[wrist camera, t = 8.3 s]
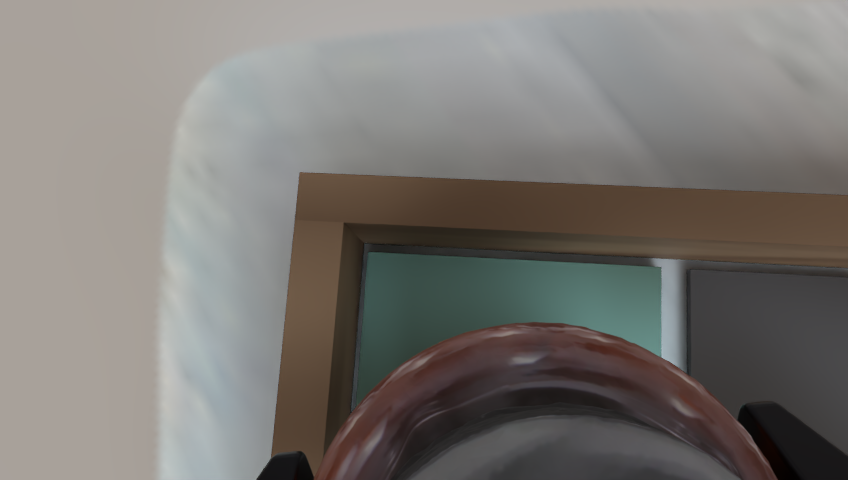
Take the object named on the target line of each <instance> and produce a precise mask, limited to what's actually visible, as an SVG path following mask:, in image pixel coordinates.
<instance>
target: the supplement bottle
mask: <svg viewBox="0 0 848 480" xmlns="http://www.w3.org/2000/svg"><path fill="white" fill-rule="evenodd" d="M314 480H778V479H777V477H776V476H775V474H774V472H773V470H772V468H771V466H770V464H769V461H768V460H767V459H766V458H765V456H764V455H763V454H762V452H761V450H760V449H759V448H758V446H757V445H756V444H755V442H754V441H753V439H752V437H751V435H750V434H749V433H748V432H747V431H746V429H745V428H744V427H743V426H742V425H741V424H740V423H739V422H738V421H737V420H736V419H735V418H734V417H733V416H732V415H731V414H730V413H729V411H728V410H727V409H726V408H725V407H724V406H723V405H722V403H721V402H720V401H719V400H718V399H717V398H716V397H715V396H714V395H713V394H712V393H710V392H709V391H708V390H707V389H706V388H705V387H704V386H703V385H702V384H700V383H699V382H698V381H697V380H696V379H694V378H693V377H691V376H689V375H688V374H686V373H685V372H683V371H682V370H681V369H680V368H678V367H677V366H675V365H674V364H672V363H671V362H669V361H667V360H665V359H663V358H661V357H659V356H658V355H656V354H654V353H652V352H651V351H649V350H647V349H645V348H643V347H641V346H639V345H637V344H635V343H631V342H629V341H627V340H625V339H623V338H621V337H617V336H614V335H610V334H606V333H603V332H599V331H595V330H592V329H589V328H587V327H583V326H575V325H569V324H565V323H545V322H528V323H512V324H504V325H498V326H493V327H488V328H483V329H478V330H474V331H469V332H465V333H462V334H459V335H457V336H454V337H452V338H449V339H446V340H444V341H442V342H440V343H438V344H436V345H433V346H431V347H429V348H427V349H425V350H423V351H422V352H420V353H418V354H417V355H415V356H413V357H412V358H410V359H409V360H407V361H405V362H404V363H403V364H401V365H400V366H399V367H397V368H396V369H395V370H393V371H392V372H391V373H389V374H388V375H387V376H386V377H385V378H384V379H383V380H381V381H380V382H379V383H378V384H377V385H376V386H375V387H374V388H373V389H372V390H371V391H370V392H369V393H368V394H367V395H366V396H365V397H364V398H363V399H362V401H361V402H360V403H359V404H358V405H357V407H356V408H355V409H354V410H353V412H352V413H351V414H350V415H349V417H348V418H347V420H346V421H345V422H344V424H343V425H342V426H341V428H340V429H339V431H338V432H337V434H336V436H335V437H334V439H333V441H332V443H331V444H330V446H329V448H328V449H327V451H326V454H325V456H324V458H323V460H322V462H321V464H320V466H319V469H318V471H317V473H316V475H315V477H314Z"/></svg>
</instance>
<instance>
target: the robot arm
mask: <svg viewBox="0 0 848 480" xmlns="http://www.w3.org/2000/svg"><path fill="white" fill-rule="evenodd" d="M737 421H738V422H739V423H740V424H741V425H742V426H743V427H744V428H745V429H746V431H747V432H748V433H749V434H750V435H751V437H752V439H753V441H754V442H755V444H756V445H757V446H758V448H759V449H760V450H761V452H762V454H763V455H764V456H765V458H766V459H767V460H768V461H769V464H770V466H771V468H772V470H773V472H774V474H775V476H776V477H777V479H778V480H848V455H847V454H845V453H844V452H843V451H841V450H840V449H839V448H837V447H836V446H835V445H833V444H832V443H831V442H829V441H828V440H827V439H825V438H824V437H823V436H821V435H820V434H819V433H817V432H816V431H815V430H813V429H812V428H811V427H809V426H808V425H807V424H805V423H804V422H803V421H801V420H800V419H799V418H797V417H796V416H795V415H793V414H792V413H791V412H789V411H788V410H787V409H785V408H784V407H783V406H781V405H780V404H778V403H776V402H774V401H759V402H750V403H745V404H743V405H742V406H741V407H740V410H739V414H738V419H737ZM257 480H314V476H313V473H312V470H311V468H310V465H309V462H308V459H307V457H306V455H305V454H304V453H303V452H302V451H291V452H282V453H277V454H275V455H274V456H273V457H272V458H271V459H270V460H269V462H268V463H267V465H266V466H265V468H264V469H263V471H262V472H261V474H260V475H259V477H258V478H257Z"/></svg>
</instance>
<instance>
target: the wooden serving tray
mask: <svg viewBox="0 0 848 480" xmlns="http://www.w3.org/2000/svg"><path fill="white" fill-rule="evenodd" d="M364 243H367V244H386V245H406V246H425V247H445V248H465V249H484V250H504V251H523V252H543V253H563V254H582V255H602V256H621V257H641V258H660V259H680V260H700V261H719V262H739V263H758V264H778V265H798V266H817V267H837V268H848V195H829V194H805V193H781V192H757V191H733V190H709V189H686V188H662V187H638V186H614V185H590V184H566V183H542V182H518V181H494V180H471V179H447V178H423V177H399V176H375V175H351V174H327V173H303V172H300V175H299V184H298V194H297V204H296V214H295V224H294V234H293V244H292V254H291V264H290V274H289V284H288V294H287V304H286V314H285V324H284V334H283V344H282V354H281V364H280V374H279V384H278V394H277V404H276V414H275V424H274V434H273V444H272V454H271V458H272V457H273V456H274V455H275V454H277V453H282V452H291V451H302V452H303V453H304V454H305V455H306V457H307V459H308V462H309V465H310V468H311V470H312V473H313V476H314V477H315V475H316V473H317V471H318V469H319V466H320V464H321V462H322V460H323V458H324V456H325V454H326V451H327V449H328V448H329V446H330V444H331V443H332V441H333V439H334V437H335V436H336V434H337V432H338V431H339V429H340V428H341V426H342V425H343V424H344V422H345V421H346V420H347V418H348V417H349V415H350V413H351V401H352V389H353V376H354V364H355V352H356V339H357V327H358V314H359V302H360V290H361V277H362V265H363V253H364ZM528 322H545V323H565V324H569V325H575V326H583V327H587V328H589V329H592V330H595V331H599V332H603V333H606V334H610V335H614V336H617V337H621V338H623V339H625V340H627V341H629V342H631V343H635V344H637V345H639V346H641V347H643V348H645V349H647V350H649V351H651V352H652V353H654V354H656V355H658V356H659V357H661V267H649V266H629V265H610V264H591V263H572V262H553V261H534V260H514V259H495V258H476V257H457V256H438V255H419V254H399V253H380V252H368V259H367V272H366V284H365V297H364V309H363V322H362V334H361V347H360V359H359V372H358V384H357V397H356V407H357V405H358V404H359V403H360V402H361V401H362V399H363V398H364V397H365V396H366V395H367V394H368V393H369V392H370V391H371V390H372V389H373V388H374V387H375V386H376V385H377V384H378V383H379V382H380V381H381V380H383V379H384V378H385V377H386V376H387V375H388V374H389V373H391V372H392V371H393V370H395V369H396V368H397V367H399V366H400V365H401V364H403V363H404V362H405V361H407V360H409V359H410V358H412V357H413V356H415V355H417V354H418V353H420V352H422V351H423V350H425V349H427V348H429V347H431V346H433V345H436V344H438V343H440V342H442V341H444V340H446V339H449V338H452V337H454V336H457V335H459V334H462V333H465V332H469V331H474V330H478V329H483V328H488V327H493V326H498V325H504V324H512V323H528ZM687 353H688V375H689V376H691V377H693V378H694V379H696V380H697V381H698V382H699V383H700V384H702V385H703V386H704V387H705V388H706V389H707V390H708V391H709V392H710V393H712V394H713V395H714V396H715V397H716V398H717V399H718V400H719V401H720V402H721V403H722V405H723V406H724V407H725V408H726V409H727V410H728V411H729V413H730V414H731V415H732V416H733V417H734V418H735V419H736V420H737V419H738V414H739V410H740V407H741V406H742V405H743V404H745V403H750V402H759V401H774V402H776V403H778V404H780V405H781V406H783V407H784V408H785V409H787V410H788V411H789V412H791V413H792V414H793V415H795V416H796V417H797V418H799V419H800V420H801V421H803V422H804V423H805V424H807V425H808V426H809V427H811V428H812V429H813V430H815V431H816V432H817V433H819V434H820V435H821V436H823V437H824V438H825V439H827V440H828V441H829V442H831V443H832V444H833V445H835V446H836V447H837V448H839V449H840V450H841V451H843V452H844V453H845V454H847V455H848V277H830V276H810V275H791V274H772V273H753V272H734V271H715V270H696V269H690V270H687Z"/></svg>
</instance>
